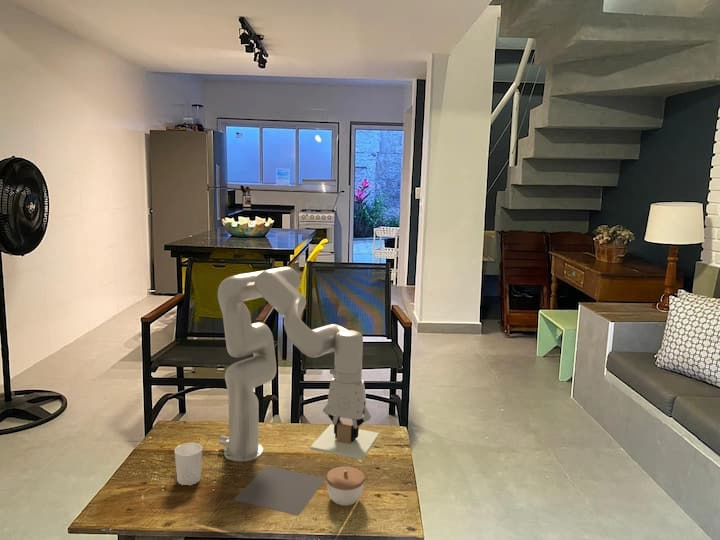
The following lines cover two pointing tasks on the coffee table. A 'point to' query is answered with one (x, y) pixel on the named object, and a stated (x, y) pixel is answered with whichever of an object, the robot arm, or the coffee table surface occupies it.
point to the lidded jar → (345, 485)
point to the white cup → (188, 463)
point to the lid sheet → (343, 447)
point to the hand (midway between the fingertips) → (346, 437)
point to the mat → (280, 490)
